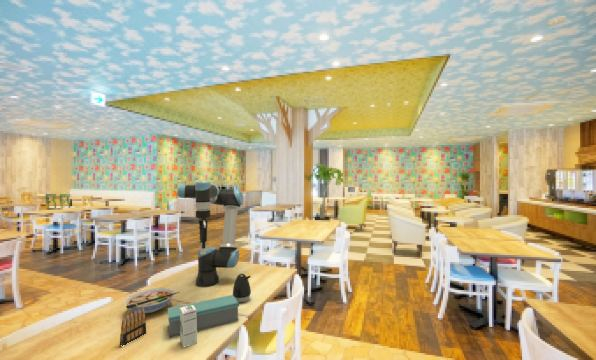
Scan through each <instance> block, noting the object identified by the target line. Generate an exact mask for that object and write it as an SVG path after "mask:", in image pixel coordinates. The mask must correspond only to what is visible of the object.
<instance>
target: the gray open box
mask: <svg viewBox="0 0 596 360" xmlns="http://www.w3.org/2000/svg"><path fill="white" fill-rule="evenodd" d="M196 318H197V332H198V331H202V330H206V329H209V328H214V327H218V326H223V325H226V324H229V323H234V322H238V321H239V307H235V308H230V309H226V310H221V311H217V312H213V313H208V314H204V315H199V316H196ZM168 326H169V327H168V329H169V338H170V337H171V338H174V336H175V337H178V336H179V337H180V320H177V321H173V322H169V321H168Z"/></svg>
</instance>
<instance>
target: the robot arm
mask: <svg viewBox="0 0 596 360" xmlns="http://www.w3.org/2000/svg"><path fill="white" fill-rule="evenodd" d="M177 196H178V198H180V199H193V200H195V204H194V207H195V210H196V211H195V218H196V219H199V220H198V225H199V226H198V228H199V243H200V244H199V245H200V247H199V249H200V250H198V254H197V258H198V259H197V265H198V266H197V270H198V271H197V276H196V278H195V286H196V287H201V288H203V287H204V288H205V287H211V286H212V287H213V286H215V285H217V284H218V283H219V282H220V277H219V273H218V271H217V268H219V269H221V268H222V269H225V268H226V269H230V268H231V269H232V268H236V266H237V265H238V262H239V259H240V250H239V249H238V247H237V245H236V234H237V223H238V211H239V210H240V209H241V206H243V204H244V195H243V192H242V190H241V189H239V188H238V189H237V188H228V189H227V188H226V189H225V188H219V186H218V185H215V184H211V182H210V181H206V180H205V181H196V182H195V184H183V185H182V184H181V185H179V186H178V188H177ZM212 204H213V205H216V206H222V207H223V209H224V219H223V232H222V241H221V245H220V246H219V248H218V249H217V247H216V246H209V247H207V241H208V240H207V239H208V227H209V225H208V220H207V219H208V218H210V217H211V205H212Z"/></svg>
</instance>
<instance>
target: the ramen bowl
mask: <svg viewBox="0 0 596 360" xmlns="http://www.w3.org/2000/svg"><path fill="white" fill-rule="evenodd" d="M176 294H180V292H179V291H178V292H175V291H174V289H171V288H168V287H167V288H165V287H156V288H149V289H145V290H142V291H139V292H135V293H134V294H132V295H130V296H128V298H127V299H126V300H125V304H126V306H125V308H127V310H129V309H130V310H131V311H133V312H135V311H136V312H137V314H138V310H139V309H140V311H141V312H142V308H144V312H145V314H152V313H155V312H157V311H158V310H162V309H163V308H165V307H166V306H167V305H168V304H170V302H171V300H172V298H173V297H174V295H176Z"/></svg>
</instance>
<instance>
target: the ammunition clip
mask: <svg viewBox="0 0 596 360" xmlns="http://www.w3.org/2000/svg"><path fill="white" fill-rule="evenodd" d="M145 315H146V313H145V312H144V308H142V312H141V311H140V309H139V310H138V313H137V312H136V311H134V314H133V312H131V313H130V315H129V314H127V315H126V318H125V316H122V318H121V327H120V333H119V334H120V337H119V339H120V340H119V346H120V345H122V346H123V345H126V344H127V343H129V342H131V341H133V340H135V339H136V340H138V339H140V338H141V337H140V336H142V335H143V336H145V335H146V334H147V322H146V316H145ZM144 334H145V335H144ZM143 336H142V337H143ZM139 337H140V338H139ZM137 338H138V339H137ZM136 340H135V341H136ZM133 342H134V341H133ZM131 343H132V342H131ZM129 344H130V343H129ZM126 346H127V345H126Z"/></svg>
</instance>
